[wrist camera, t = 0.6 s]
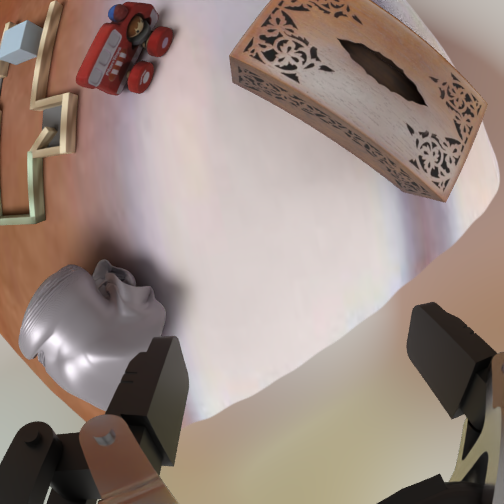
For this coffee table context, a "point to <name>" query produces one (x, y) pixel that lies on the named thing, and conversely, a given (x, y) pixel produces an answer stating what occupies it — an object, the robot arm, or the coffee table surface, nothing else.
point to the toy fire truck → (124, 50)
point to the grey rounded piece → (90, 328)
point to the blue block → (20, 43)
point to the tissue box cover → (364, 88)
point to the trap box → (44, 120)
